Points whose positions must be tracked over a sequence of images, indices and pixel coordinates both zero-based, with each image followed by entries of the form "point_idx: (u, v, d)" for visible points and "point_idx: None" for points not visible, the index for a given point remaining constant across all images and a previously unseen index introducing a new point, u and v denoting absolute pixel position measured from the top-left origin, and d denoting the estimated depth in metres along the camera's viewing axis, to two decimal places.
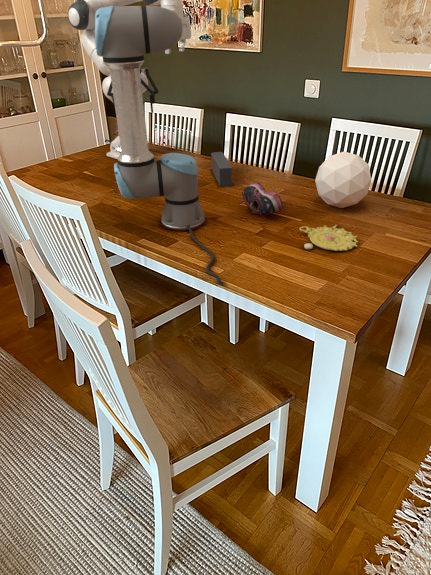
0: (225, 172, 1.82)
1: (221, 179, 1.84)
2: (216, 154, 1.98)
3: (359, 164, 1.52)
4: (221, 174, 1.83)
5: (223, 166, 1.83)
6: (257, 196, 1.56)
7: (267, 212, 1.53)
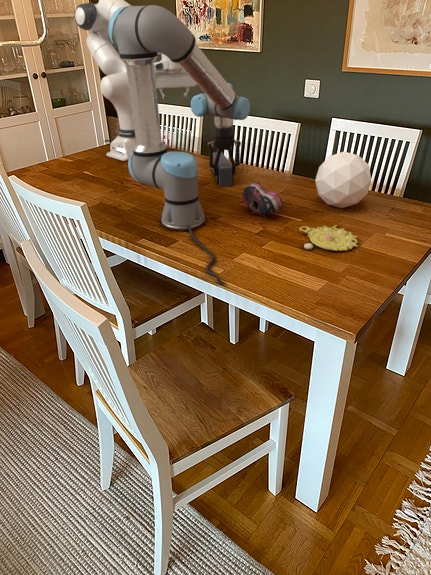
0: (225, 172, 1.82)
1: (221, 179, 1.84)
2: None
3: (359, 164, 1.52)
4: (221, 174, 1.83)
5: (223, 166, 1.83)
6: (257, 196, 1.56)
7: (267, 212, 1.53)
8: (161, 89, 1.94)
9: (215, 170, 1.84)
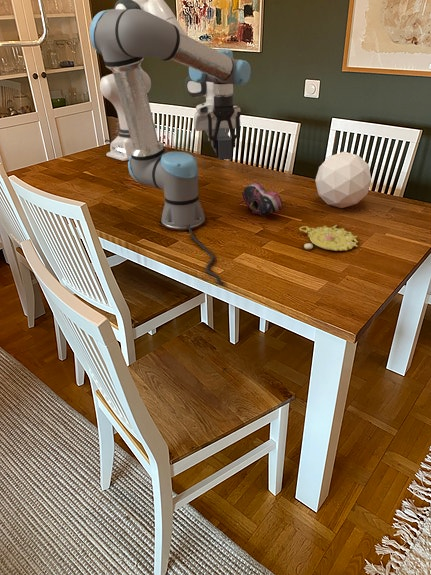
0: (225, 144, 1.76)
1: (220, 151, 1.77)
2: None
3: (359, 164, 1.52)
4: (220, 146, 1.76)
5: (223, 138, 1.77)
6: (257, 196, 1.56)
7: (267, 212, 1.53)
8: None
9: (214, 142, 1.77)
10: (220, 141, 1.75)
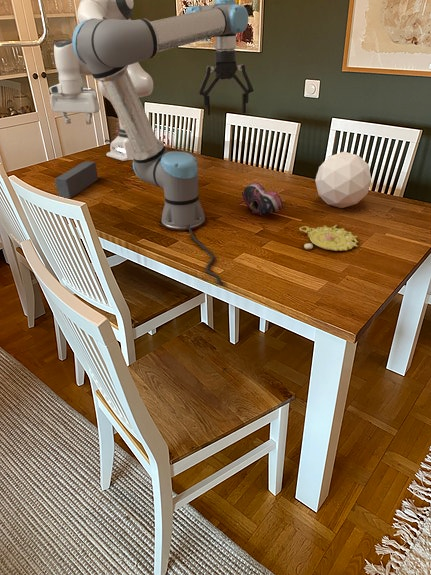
0: (60, 183, 1.76)
1: (58, 190, 1.78)
2: (83, 164, 1.91)
3: (359, 164, 1.52)
4: (57, 185, 1.77)
5: (62, 177, 1.77)
6: (257, 196, 1.56)
7: (267, 212, 1.53)
8: (63, 113, 1.81)
9: (205, 98, 1.63)
10: (56, 180, 1.76)
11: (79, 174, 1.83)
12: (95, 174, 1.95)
